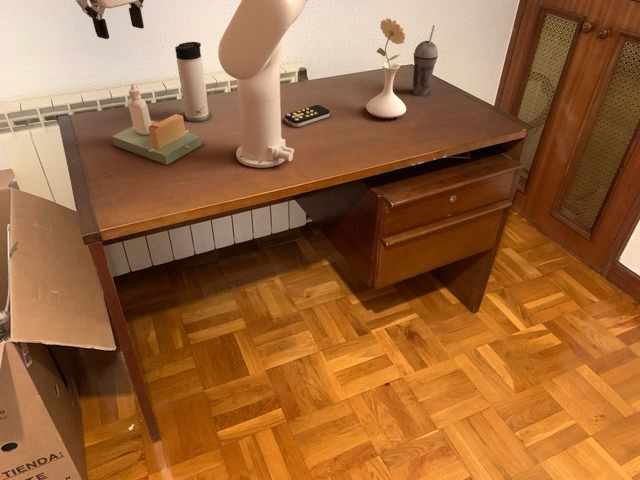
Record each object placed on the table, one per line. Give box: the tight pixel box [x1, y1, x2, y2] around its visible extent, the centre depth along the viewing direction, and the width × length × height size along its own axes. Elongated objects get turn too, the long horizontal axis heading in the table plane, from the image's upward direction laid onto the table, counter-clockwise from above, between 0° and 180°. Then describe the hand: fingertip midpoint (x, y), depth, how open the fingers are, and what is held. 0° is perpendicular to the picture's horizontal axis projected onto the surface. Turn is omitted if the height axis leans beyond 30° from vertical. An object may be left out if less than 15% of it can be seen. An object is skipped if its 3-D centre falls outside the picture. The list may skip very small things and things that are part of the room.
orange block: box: [149, 113, 186, 149], centre depth 117 cm, size 9×2×5 cm, turn 149°
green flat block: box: [111, 119, 202, 166], centre depth 121 cm, size 20×13×3 cm, turn 59°
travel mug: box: [174, 41, 210, 123], centre depth 130 cm, size 6×7×20 cm
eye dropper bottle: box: [127, 83, 152, 135], centre depth 119 cm, size 4×6×12 cm
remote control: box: [284, 104, 331, 128], centre depth 136 cm, size 6×13×2 cm, turn 130°
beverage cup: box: [412, 24, 439, 96], centre depth 147 cm, size 7×7×20 cm
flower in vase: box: [365, 17, 407, 119], centre depth 133 cm, size 13×11×25 cm
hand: (121, 32), depth 108 cm, fingers open, 9 cm apart
